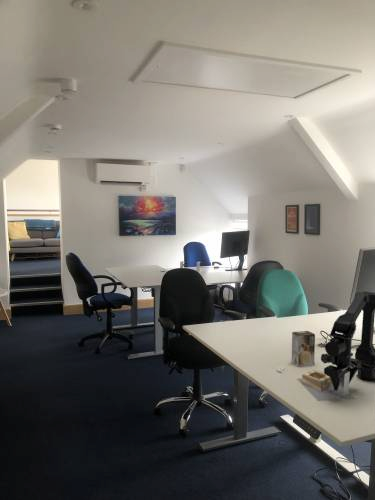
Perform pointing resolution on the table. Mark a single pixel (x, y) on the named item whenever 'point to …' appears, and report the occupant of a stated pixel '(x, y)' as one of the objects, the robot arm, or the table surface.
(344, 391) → the steel pin
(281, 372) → the pliers
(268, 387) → the table surface
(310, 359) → the coffee box
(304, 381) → the wooden square frame
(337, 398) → the rubber mat
